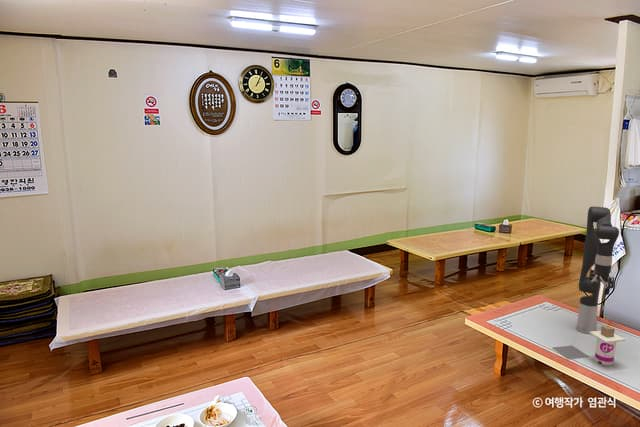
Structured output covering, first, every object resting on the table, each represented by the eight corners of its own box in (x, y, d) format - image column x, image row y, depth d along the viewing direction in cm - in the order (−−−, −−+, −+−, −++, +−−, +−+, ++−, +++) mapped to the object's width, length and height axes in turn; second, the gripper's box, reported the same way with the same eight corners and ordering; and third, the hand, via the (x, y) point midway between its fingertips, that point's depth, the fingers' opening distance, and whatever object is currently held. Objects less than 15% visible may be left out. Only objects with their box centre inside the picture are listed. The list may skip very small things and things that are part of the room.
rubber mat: (572, 347, 250) (572, 345, 249) (589, 358, 237) (589, 357, 237) (551, 349, 247) (551, 347, 247) (567, 361, 235) (568, 359, 235)
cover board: (607, 331, 236) (608, 321, 235) (625, 340, 225) (626, 331, 224) (589, 333, 234) (590, 323, 233) (606, 342, 223) (607, 333, 222)
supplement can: (613, 369, 227) (616, 342, 224) (594, 364, 231) (597, 338, 228) (612, 362, 234) (616, 335, 231) (594, 357, 238) (597, 331, 235)
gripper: (620, 266, 230) (616, 296, 233) (599, 258, 243) (595, 286, 247) (607, 267, 228) (604, 297, 232) (586, 259, 242) (583, 287, 245)
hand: (599, 291), depth 239 cm, fingers open, 8 cm apart
